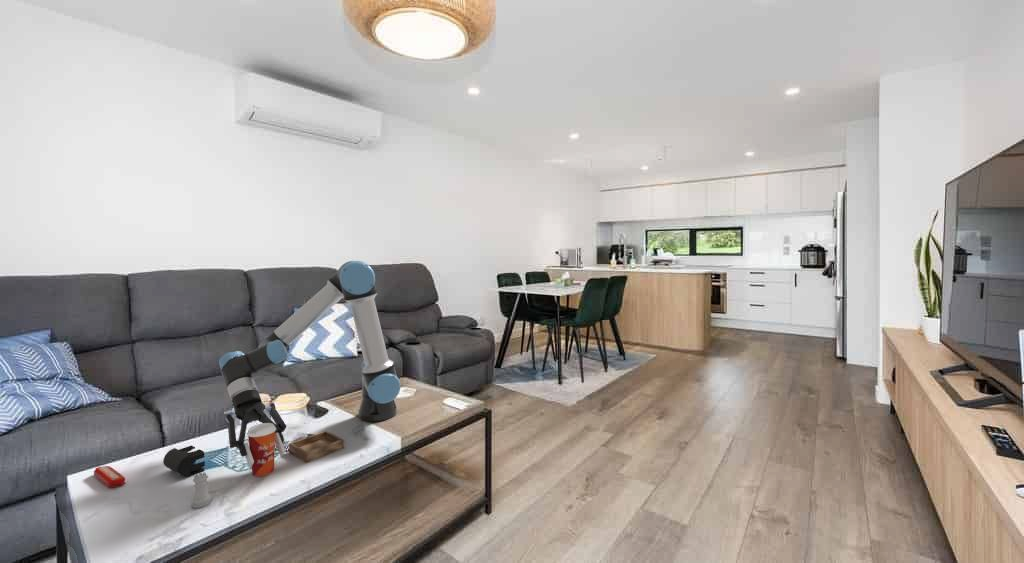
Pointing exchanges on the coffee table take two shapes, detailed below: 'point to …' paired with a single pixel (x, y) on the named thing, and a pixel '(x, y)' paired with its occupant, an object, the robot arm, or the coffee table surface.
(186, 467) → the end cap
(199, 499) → the rook chess piece
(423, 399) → the coffee table surface
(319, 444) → the tray
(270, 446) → the paper cup
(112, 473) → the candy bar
